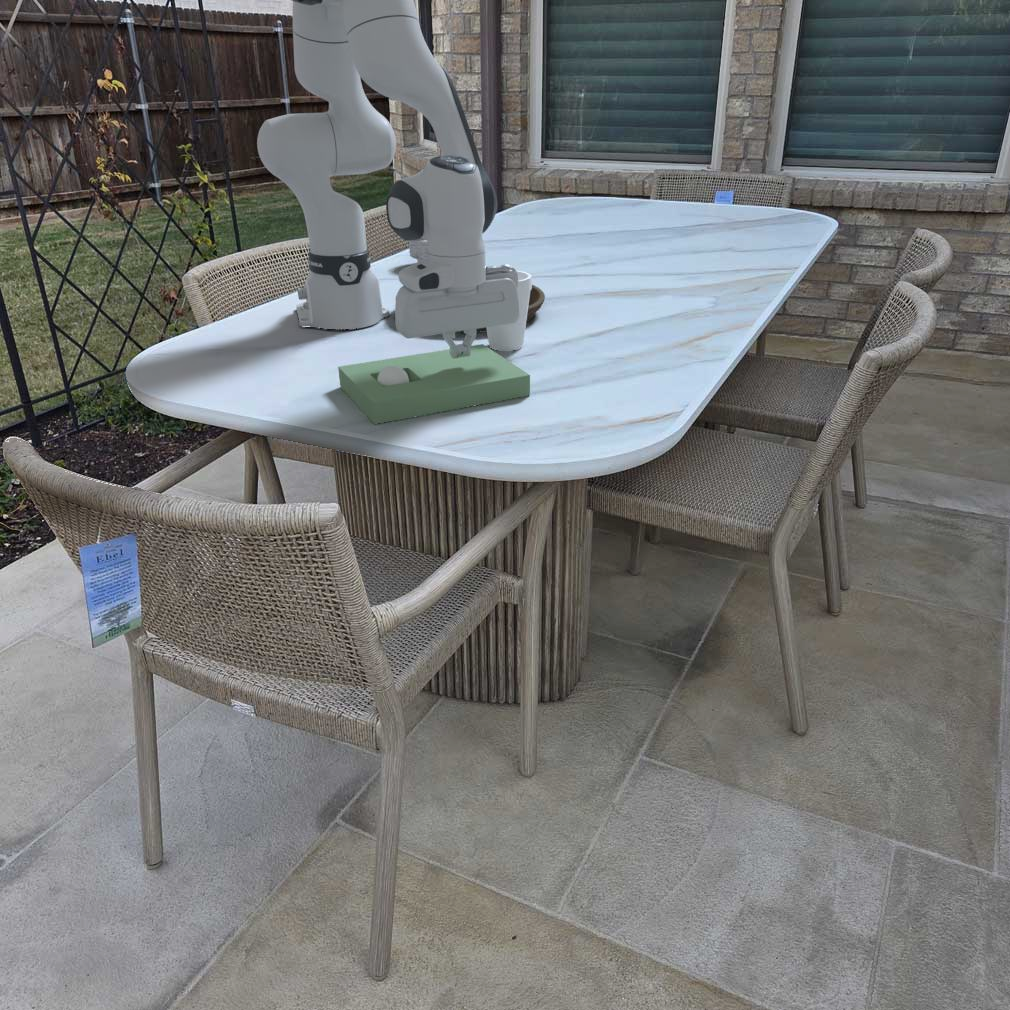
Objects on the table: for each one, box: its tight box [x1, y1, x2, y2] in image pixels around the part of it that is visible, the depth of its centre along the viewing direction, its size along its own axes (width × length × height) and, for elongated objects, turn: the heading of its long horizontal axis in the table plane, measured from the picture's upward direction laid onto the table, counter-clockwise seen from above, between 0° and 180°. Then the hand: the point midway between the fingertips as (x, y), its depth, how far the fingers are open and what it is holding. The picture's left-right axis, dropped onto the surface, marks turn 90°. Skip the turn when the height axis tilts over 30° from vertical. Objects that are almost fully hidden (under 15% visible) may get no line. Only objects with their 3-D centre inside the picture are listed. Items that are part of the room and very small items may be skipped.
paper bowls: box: [408, 240, 428, 262], centre depth 217 cm, size 15×15×8 cm
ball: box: [377, 366, 409, 386], centre depth 135 cm, size 5×5×5 cm
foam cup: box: [486, 270, 533, 352], centre depth 157 cm, size 10×9×13 cm
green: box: [337, 343, 531, 425], centre depth 138 cm, size 18×26×4 cm
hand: (460, 356), depth 139 cm, fingers closed
